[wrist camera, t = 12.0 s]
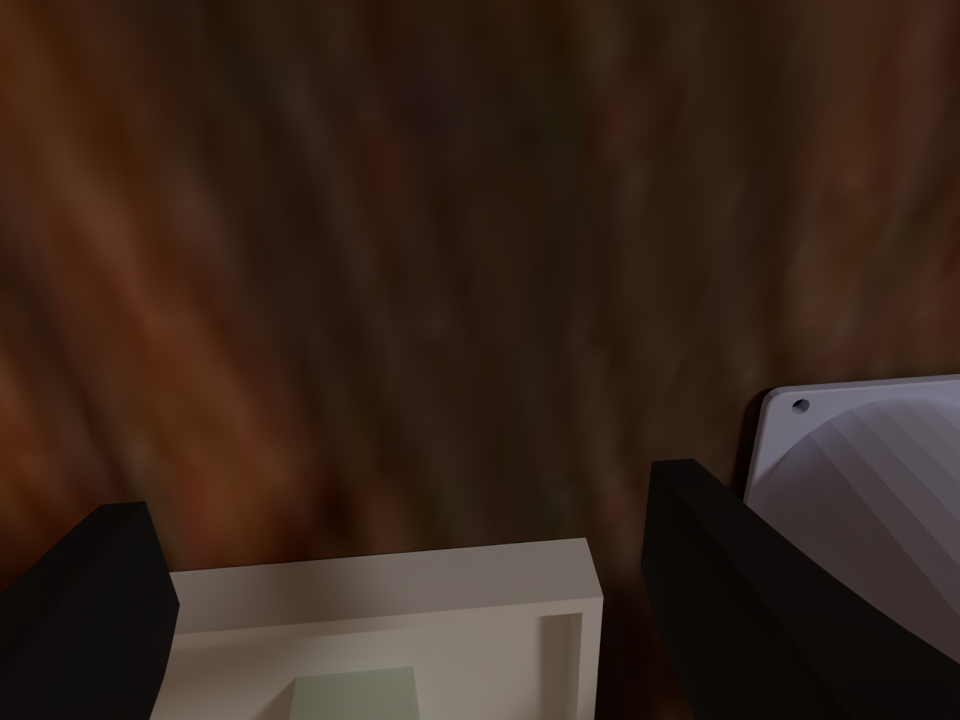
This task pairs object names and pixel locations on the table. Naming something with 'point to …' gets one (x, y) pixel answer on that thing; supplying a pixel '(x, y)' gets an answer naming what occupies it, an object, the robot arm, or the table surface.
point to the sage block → (357, 696)
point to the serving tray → (393, 632)
